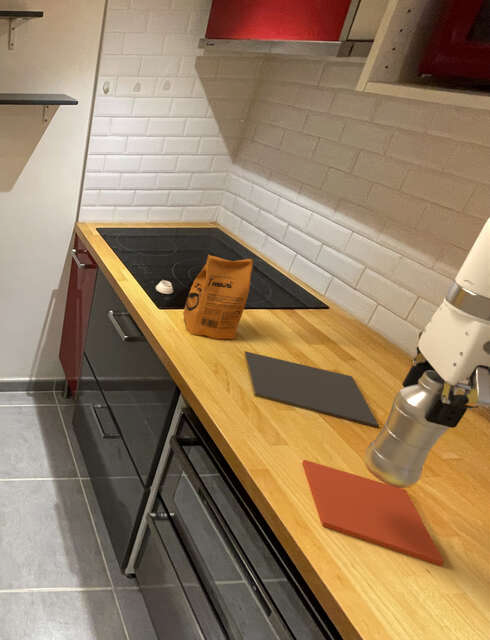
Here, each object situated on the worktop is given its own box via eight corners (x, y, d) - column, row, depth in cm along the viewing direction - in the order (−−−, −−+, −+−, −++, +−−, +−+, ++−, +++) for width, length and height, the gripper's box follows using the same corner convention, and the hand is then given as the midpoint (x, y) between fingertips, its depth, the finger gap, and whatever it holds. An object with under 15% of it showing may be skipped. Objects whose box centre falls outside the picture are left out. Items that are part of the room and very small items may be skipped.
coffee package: (179, 315, 128) (197, 246, 119) (226, 322, 125) (249, 252, 116) (186, 335, 119) (206, 262, 110) (237, 343, 117) (262, 269, 108)
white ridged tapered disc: (160, 295, 138) (175, 294, 139) (162, 287, 137) (177, 286, 137) (152, 287, 143) (167, 286, 143) (154, 279, 141) (169, 278, 142)
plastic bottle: (391, 498, 68) (453, 399, 60) (347, 460, 74) (399, 366, 66) (423, 490, 70) (489, 392, 61) (378, 454, 76) (432, 360, 67)
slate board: (350, 378, 105) (352, 376, 105) (377, 428, 92) (379, 425, 91) (244, 353, 113) (245, 351, 113) (254, 395, 99) (255, 393, 99)
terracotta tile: (403, 493, 78) (406, 489, 78) (441, 566, 67) (444, 562, 67) (302, 463, 84) (303, 459, 83) (321, 526, 73) (324, 522, 72)
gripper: (579, 348, 50) (496, 460, 57) (487, 279, 64) (430, 376, 72) (489, 331, 53) (421, 441, 60) (420, 269, 67) (372, 363, 74)
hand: (427, 404), depth 66 cm, fingers closed on plastic bottle, 6 cm apart
